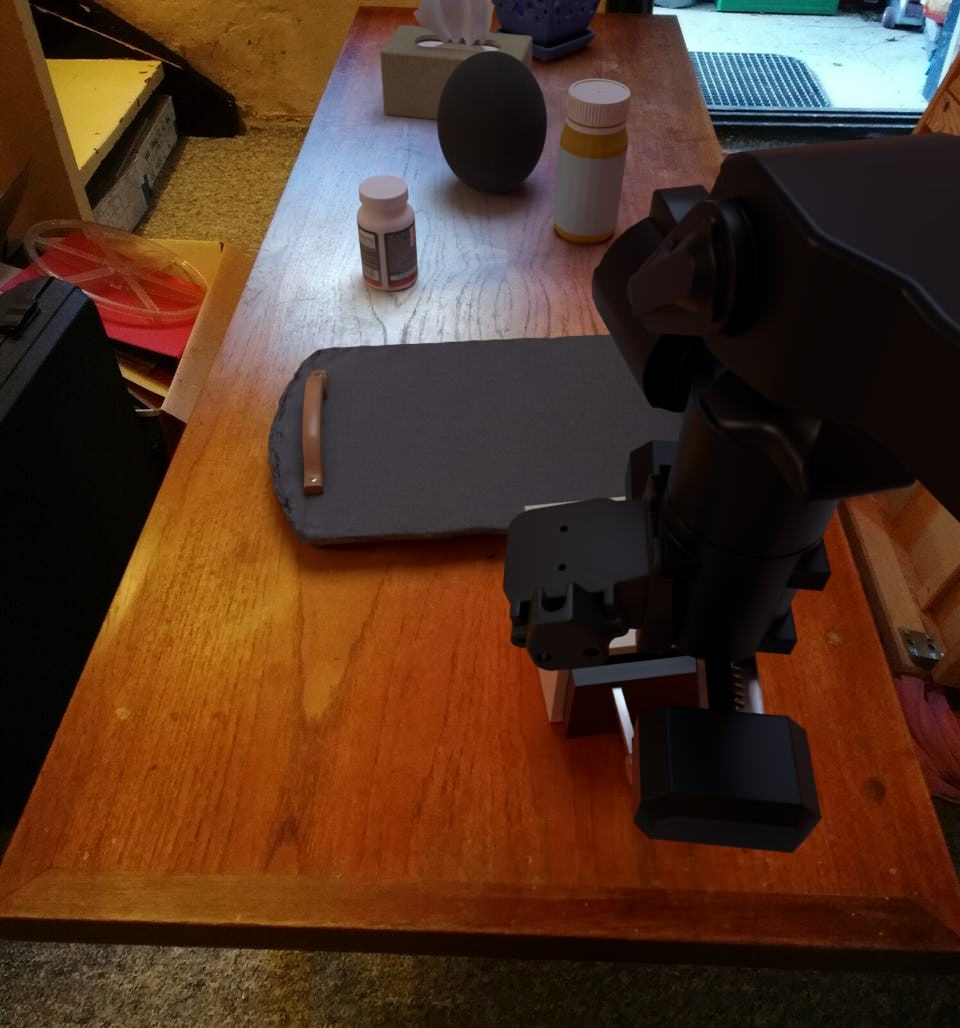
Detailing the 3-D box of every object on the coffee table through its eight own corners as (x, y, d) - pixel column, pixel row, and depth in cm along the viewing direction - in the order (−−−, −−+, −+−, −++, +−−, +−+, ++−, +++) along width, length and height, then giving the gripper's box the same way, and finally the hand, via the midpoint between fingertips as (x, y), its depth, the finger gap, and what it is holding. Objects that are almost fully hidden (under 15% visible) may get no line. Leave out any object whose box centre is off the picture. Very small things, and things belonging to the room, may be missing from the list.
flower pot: (539, 25, 138) (544, -62, 129) (604, 47, 132) (614, -42, 123) (482, 46, 132) (483, -43, 123) (548, 71, 126) (554, -21, 117)
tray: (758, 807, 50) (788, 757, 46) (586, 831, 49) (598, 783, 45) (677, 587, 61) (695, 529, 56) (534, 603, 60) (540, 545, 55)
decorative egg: (559, 203, 100) (571, 67, 89) (460, 222, 97) (459, 84, 85) (517, 157, 107) (523, 26, 96) (424, 173, 104) (419, 40, 93)
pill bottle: (420, 263, 91) (416, 173, 83) (416, 293, 87) (411, 202, 80) (366, 261, 91) (357, 171, 84) (359, 292, 87) (349, 200, 80)
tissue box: (381, 115, 115) (372, -18, 103) (400, 86, 121) (393, -43, 110) (520, 128, 113) (526, -6, 101) (531, 98, 119) (538, -32, 107)
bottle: (545, 239, 94) (556, 99, 83) (561, 209, 99) (574, 72, 88) (607, 251, 93) (627, 110, 82) (621, 220, 97) (641, 82, 86)
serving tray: (696, 353, 81) (710, 297, 76) (774, 539, 66) (798, 482, 61) (282, 373, 78) (270, 316, 74) (262, 572, 63) (246, 516, 58)
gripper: (535, 327, 37) (519, 555, 49) (501, 708, 25) (490, 893, 36) (795, 345, 37) (716, 572, 48) (895, 744, 24) (756, 921, 36)
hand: (670, 714), depth 42 cm, fingers open, 9 cm apart
